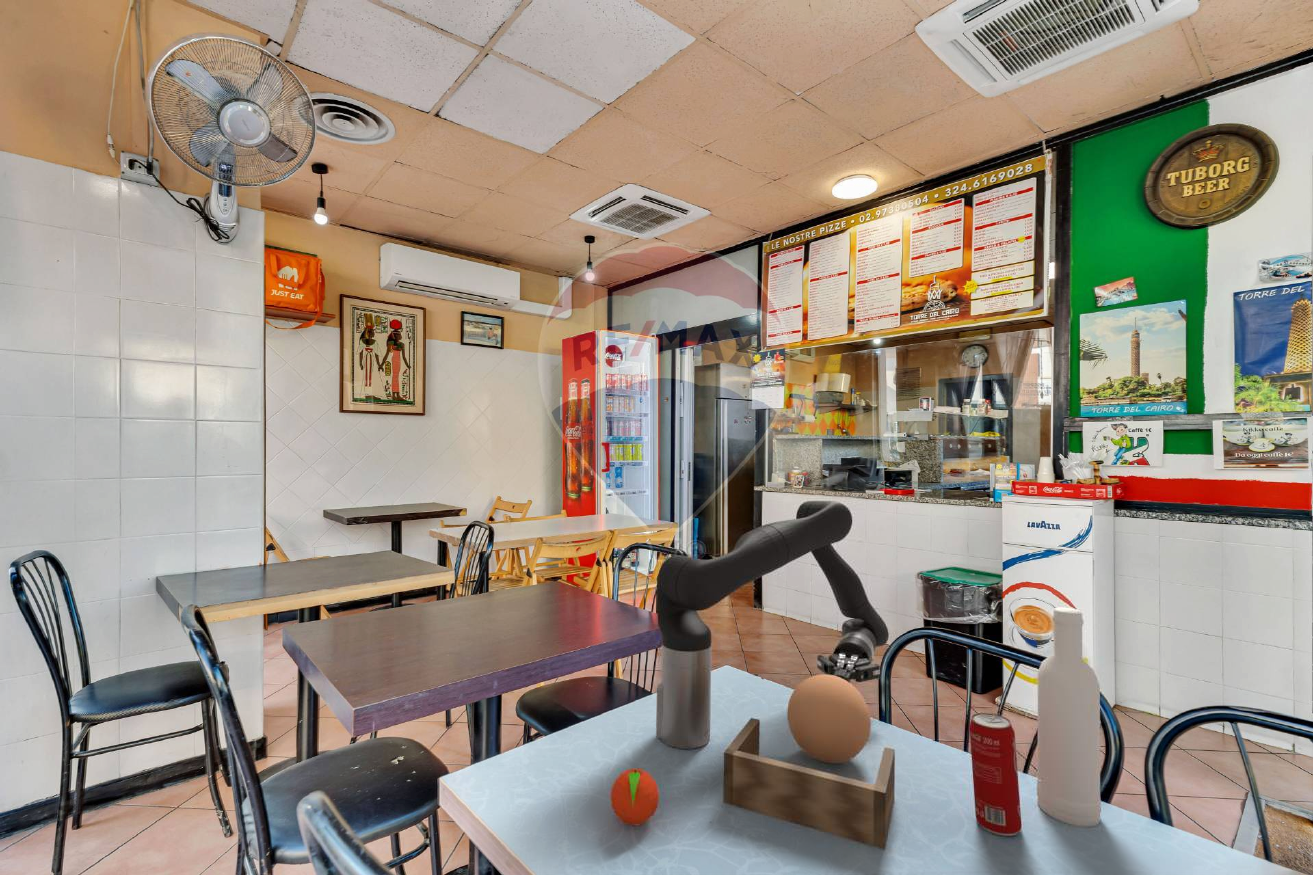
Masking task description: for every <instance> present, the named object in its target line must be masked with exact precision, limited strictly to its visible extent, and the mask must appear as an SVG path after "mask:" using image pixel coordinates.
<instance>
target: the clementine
mask: <svg viewBox="0 0 1313 875" xmlns="http://www.w3.org/2000/svg"><path fill="white" fill-rule="evenodd" d="M610 790H611V792H610V803H611V808H612V809H613V810H612V811H613V812H614V815H615V816H616V817H617V818H618V820H619V821H621V822H623V823H624V824H626V825H629V826H638V825H642V824H644V823H646V822H647V821H649V820H650V819H651V818H652V816H653V815H654V814H655V812H656V810H657V808H658V805H659V799H660V796H659V794H660V793H659V788H658V785H657V783H656V780H655V779H654V778H653V777H652V775H651V774H650V773H648V772H647V771H645V770H642V769H639V768H630V769H627V770H626V771H623V773H621V774H619V775H618V777H617V778H616V779H615V780H614V783H613V785H612V787H611V789H610Z"/></svg>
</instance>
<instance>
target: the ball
mask: <svg viewBox="0 0 1313 875" xmlns="http://www.w3.org/2000/svg"><path fill="white" fill-rule="evenodd" d="M786 712H787V713H786V714H787V723H788V727H789V731H790V732H791V734H792V737H793V739H794V740H795V742H796V744H797V745H798V746H799V747H800V748H801V749H802V751H804V752H805V753H806V754H808V756H810V757H812V758H814V759H815V760H818V761H820V762H824V763H829V764H839V763H840V764H841V763H844V762H847V761H849V760H851V759H854V758H855V757H856V756H857V755H859V754H860V753H861V751H863V749H864V748H865V746H866V745H867V743H868V740H869V737H870V733H871V727H872V720H871V714H870V709H869V707H868V705H867V703H866V700H865V698H864V696H863V695H862V693H861V692H860V691H859V690H858V688H856V687H855V686H854V684H852V683H849V682H847V681H846V680H844V679H842V678H840V677H837V676H833V675H826V674H825V673H823V674H815V675H812V676H810V677H808V678H805V679H804V680H803V681H801V682H800V683H799V684H798V685H797V686H796V687H795V688H794V690H793V691H792V693H791V696H790V697H789V701H788V705H787V711H786Z"/></svg>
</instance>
